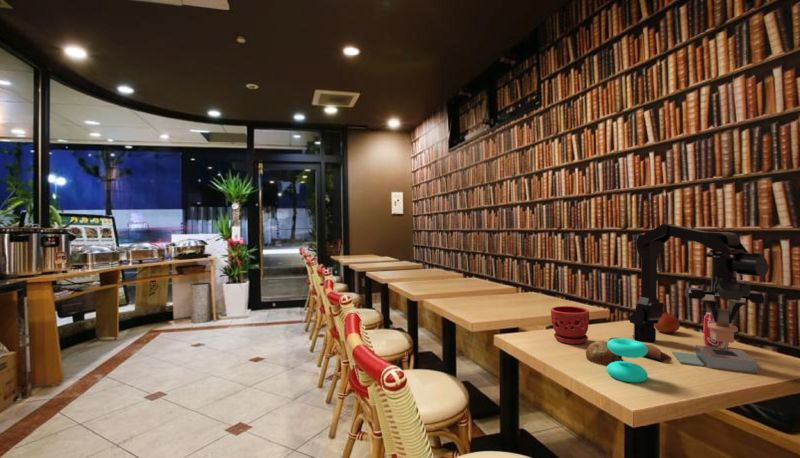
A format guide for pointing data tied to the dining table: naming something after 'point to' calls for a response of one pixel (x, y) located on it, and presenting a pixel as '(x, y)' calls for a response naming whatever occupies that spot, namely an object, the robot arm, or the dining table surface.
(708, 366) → the block
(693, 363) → the mat
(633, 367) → the donuts
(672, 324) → the fruit
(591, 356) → the bread roll
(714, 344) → the soda can
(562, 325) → the plant pot
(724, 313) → the end cover
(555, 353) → the dining table surface
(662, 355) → the sunglasses case
